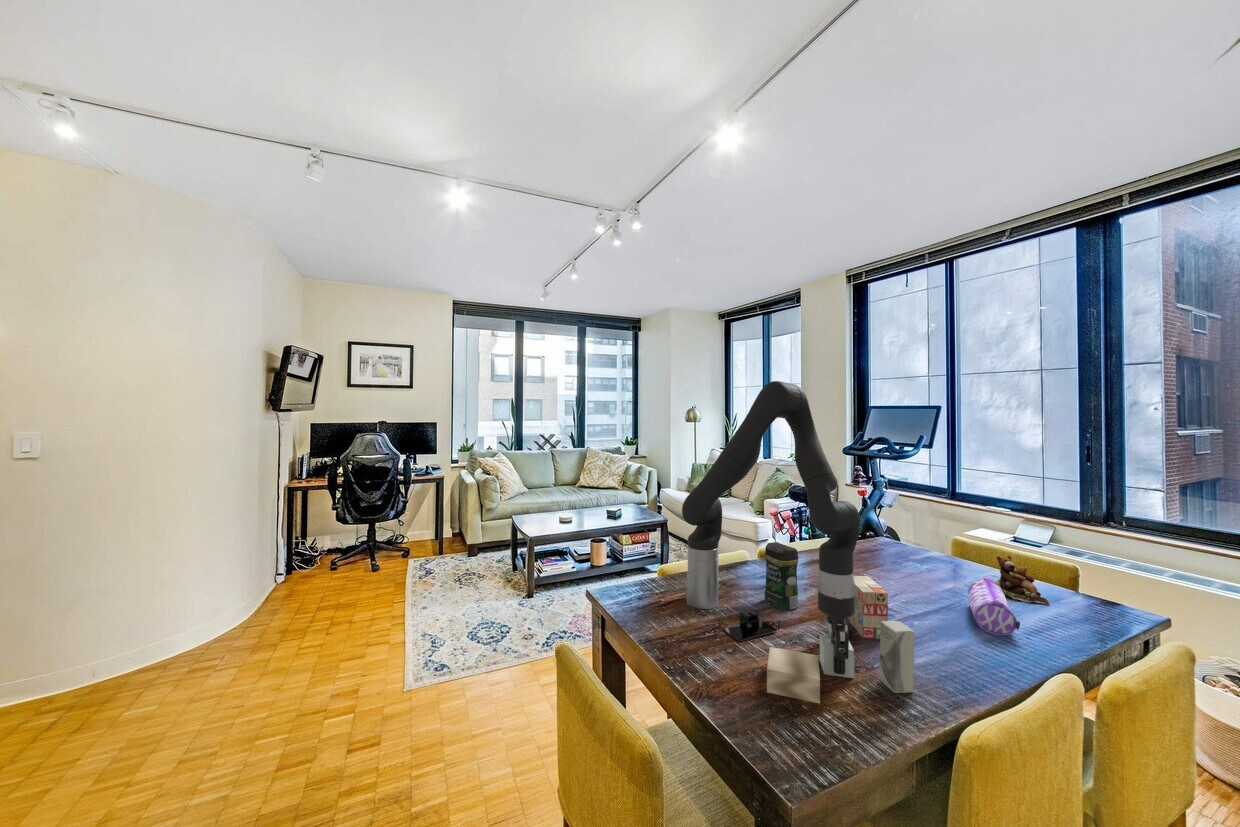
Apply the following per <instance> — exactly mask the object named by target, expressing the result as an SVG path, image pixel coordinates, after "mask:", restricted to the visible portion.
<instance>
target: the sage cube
mask: <svg viewBox="0 0 1240 827" xmlns="http://www.w3.org/2000/svg"><path fill="white" fill-rule="evenodd" d="M833 639H834V640H835V638H833ZM838 651H843V649H842V648H839V649H838ZM848 655H849V657H848V659H845V674H836V673H835V672H834V655H833V645H832V644H831V643H830V636H827V634H826V635H825V634H819V661H820V663H819V664H820V666H821V668H822V671H823V675H827V676H835V677H841V678H847V679H848V678H849V679H855V650H854V648H853V646H852V644H851V642H850V640H849V650H848Z"/></svg>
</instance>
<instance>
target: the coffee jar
mask: <svg viewBox="0 0 1240 827" xmlns="http://www.w3.org/2000/svg"><path fill="white" fill-rule="evenodd" d="M764 559H765V565H766V566H765V568H766V570H765V573H766V574H765V587H764V588H765V589H764V602H765V603H766V604H768V603H769V604H768V605H770V606H771V605H772V607H774V608H775V609H778V610H780V611H794V610H796V609H798V608H799V593H798V592H799V591H798V577H797V576H798V574H797V571H798V565H799V551H798V549H796V548H795V547H792V546H789V545H786V544H783V543H781V542H778V541H774V542H768V543H767V544H765V549H764Z"/></svg>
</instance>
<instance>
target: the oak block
mask: <svg viewBox="0 0 1240 827" xmlns="http://www.w3.org/2000/svg"><path fill="white" fill-rule="evenodd" d="M767 660H768V661H767V665H766V693H768V694H773V695H778V696H783V697H788V698H792V699H797V700H801V701H805V702H809V703H810V702H811V703H815V704H821V678H820V677H821V676H820V675H821V674H820V663H819V655H818V654H817V655H816V654H812V653H808V652H807V653H805V652H801V651H794V650H790V649H784V648H779V647H773V646H769V651H768V658H767Z"/></svg>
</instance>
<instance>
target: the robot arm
mask: <svg viewBox="0 0 1240 827" xmlns="http://www.w3.org/2000/svg"><path fill="white" fill-rule="evenodd" d="M777 418H781V419H784V420H785V421H786V423H787V424H788V426H789V428H790V430H791V432H792V435H793V439H794V440H793V441H794V459H795V465H796V467H797V468H796V469H797V471H798V473H799V476H800V478H801V480H802V483H803V485H804V488H805V491H806V497H807V498H806V499H807V506H808V513H809V517H810V520H811V522H812V524H813V526H814V527H815V529H816V530H818V531H819V533H821V534H824V535H829V538H828V540H826V541H825V542H823V543H821V545H820V546H819V549H818V574H817V608H818V610H819V611H820V612H821V613H822V614H824V615H825V616H824V617H825V619H824V621H825V629H824V632H825V634H826V635H827V636H830V643H831V644H832V645H833V655H834V672H835V673H836V674H845V659H848V657H849V655H848V650H849V641H850V633H849V629H848V623H846V620H845V619H847V617H851V616H853V615H854V614H855V582H854V576H855V575H854V551H855V549H856V547H857V542H858V539H859V534H860V529H861V515H860V513H859V511H858V508H857V507H856V506H855V505H854V504H853V503H851V502H850V501H847V500H846V501H845V500H839V501H838V500H837V501H833V499H832V497H831V493H832V492H834V491H835V490H836V489H837V487H838V482H837V479H836V476H835V474H834V472H833V470H832V466H831V465H830V463H829V461H828V459H827V456H826V454H825V452H824V450H823V447H822V444H821V442H820V439H819V436H818V432H817V430H816V427H815V423H814V418H813V416H812V412H811V408H810V404H809V400H808V397H807V394H806V393H805V391H804V390H803V389H802V387H800V386H799V385H797V384H795V383H794V384H793V383H789V382H785V381H779V380H774V381H773V380H772V381H770V382H768V383H767V384H766V385H764V386H763V387H762V388H761V390H760V391H759V393H758V394H757V396H756V397H755V399H754V402H753V404H752V405H751V406H750V409H749V411H748V412H747V414H746V416H745V417H744V419H743V421H742V422H741V424H740V425H739V427H738V428H737V430H736V431H735V433H734V434H733V436H731V439H730V440H729V441H728V442H727V444H726V445H725V446H724V448H723V450H722V451H721V452H720V453H719V455H718V457H717V458H716V460H715V461H714V463H713V465H711V467H710V468H709V470H708V471H707V473H706V474H705V475H704V477H703V478H702V479H701V481H700V482H699V483H698V484H697V485H696V486H695V487H694V488H693V490H692V491H691V492H690V493H689V494H688V495H687V497H685V500H684V501H683V504H682V507H681V514H682V519H683V520H684V522H686V523H687V524H689V525H691V526H696V527H695V529H694V531H692V533H690V534H689V536H688V537H687V571H686V605H687V606H690V607H693V608H696V609H702V610H711V609H712V610H713V609H715V608H717V607H718V606H719V599H720V598H719V542H720V539H721V537H722V525H723V505H722V503H721V500H720V497H721V496H722V495H724V494H725V493H726V492H727V491H729V490H730V489H732V488H733V487H735V486H736V485H737V484H738V483H740V482H741V481H742V480H743V479H744V478H745V477H747V475H748V474H749V473H750V471H751V470H752V469H753V467H754V466H755V465H756V463H757V462H758V460H759V458H760V454H761V448H762V447H761V446H762V440H763V437H764V435H765V433H766V432H767V430H768V429H769V428H770V427H771V425H772V424H773V422H774V421H775V420H776V419H777ZM833 638H835V640H834V639H833ZM839 648H842V649H843V651H838V649H839Z"/></svg>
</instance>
